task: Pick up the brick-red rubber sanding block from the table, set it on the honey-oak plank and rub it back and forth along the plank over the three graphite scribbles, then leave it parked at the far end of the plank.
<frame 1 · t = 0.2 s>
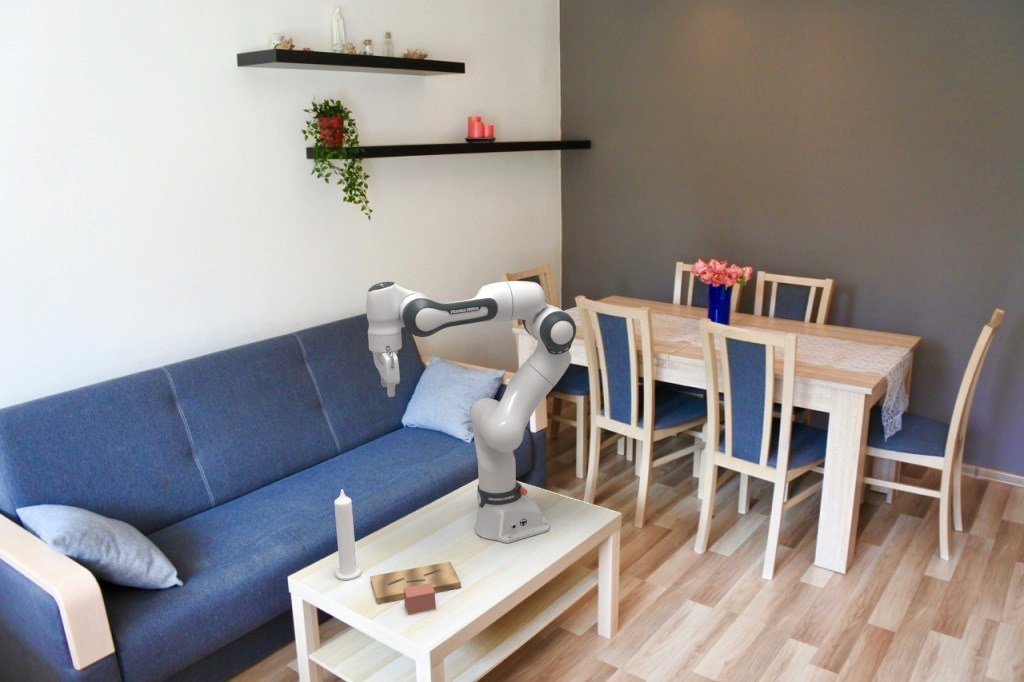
hand: (388, 390, 223), 48 cm above the table, fingers open, 8 cm apart
plank: (415, 585, 215), on the table
sanding block: (420, 607, 205), on the table
candle: (348, 574, 221), on the table
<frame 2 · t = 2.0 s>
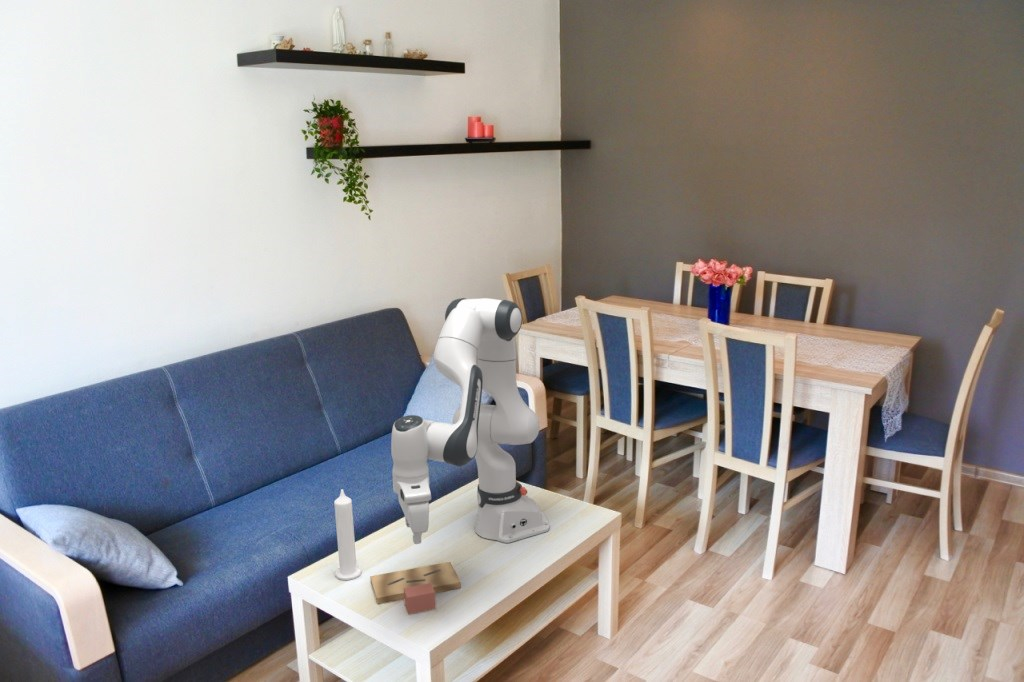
hand: (413, 534, 201), 20 cm above the table, fingers open, 8 cm apart
nothing on the table moved.
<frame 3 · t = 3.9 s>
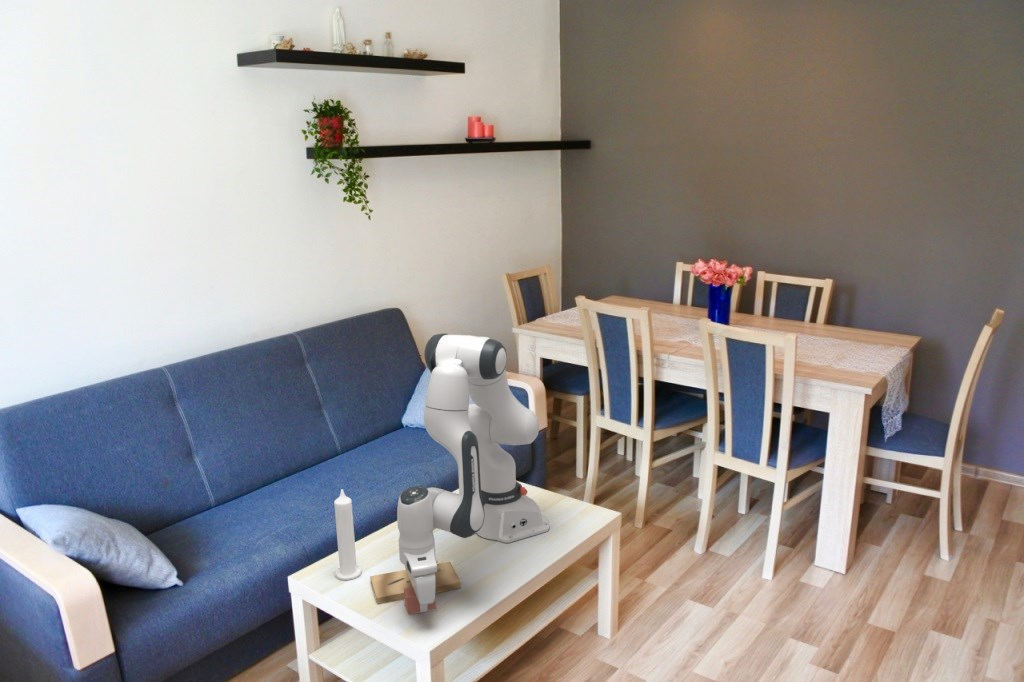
hand: (419, 601, 205), 2 cm above the table, fingers open, 7 cm apart
nothing on the table moved.
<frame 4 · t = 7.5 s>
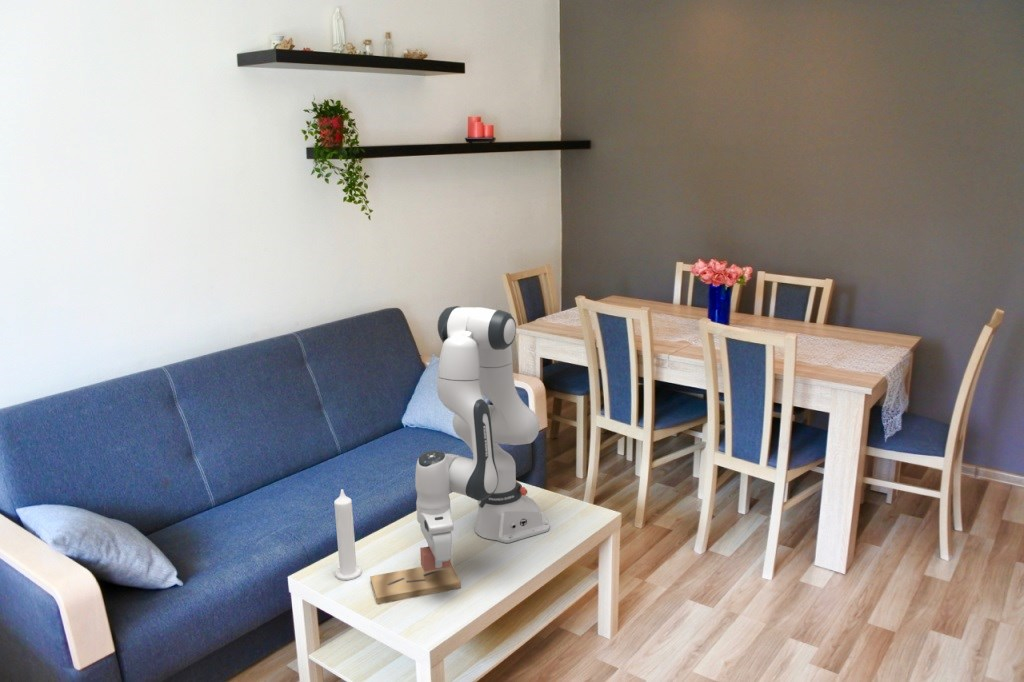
hand: (435, 561, 215), 6 cm above the table, fingers closed on sanding block, 4 cm apart
sanding block: (435, 566, 215), point 5 cm above the table, touching gripper
everything else where it was.
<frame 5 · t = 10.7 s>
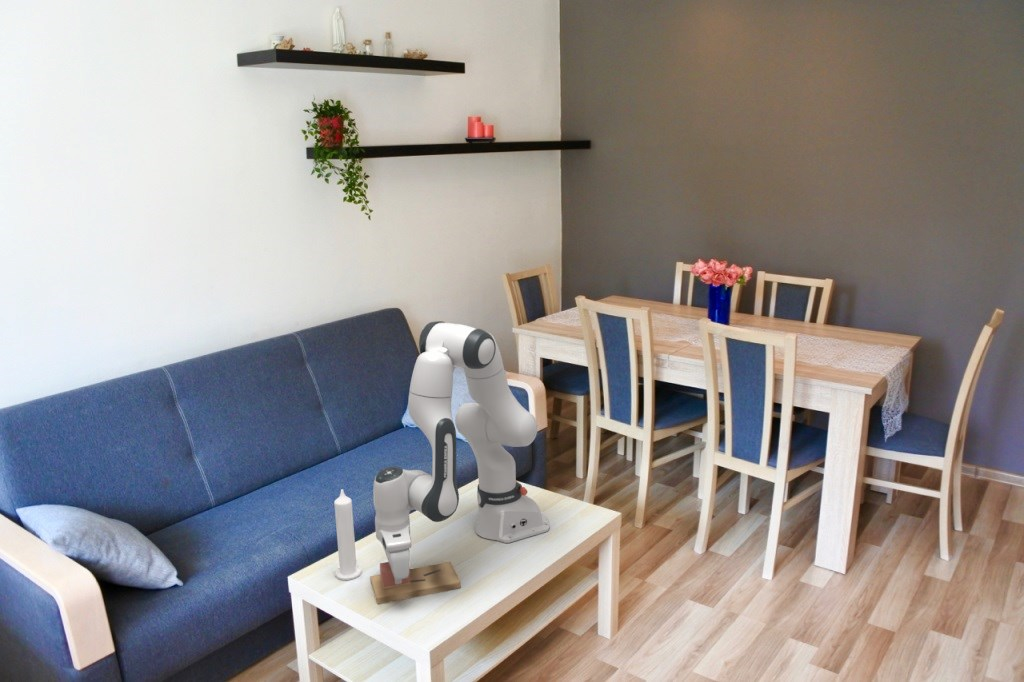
hand: (395, 576, 213), 3 cm above the table, fingers closed on sanding block, 4 cm apart
sanding block: (395, 582, 213), point 2 cm above the table, touching gripper
everything else where it was.
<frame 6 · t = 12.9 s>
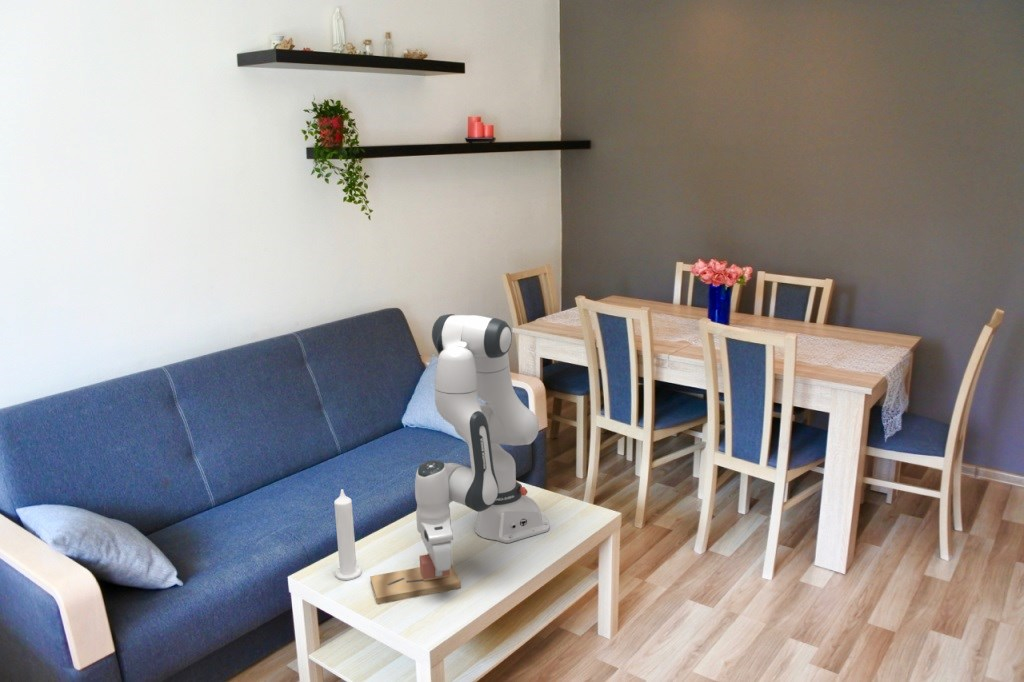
hand: (435, 569, 216), 4 cm above the table, fingers closed on sanding block, 4 cm apart
sanding block: (434, 574, 216), point 2 cm above the table, touching gripper
everything else where it was.
when the fingers open (3 cm above the table, at t = 15.4 s): sanding block stays where it is, resting on plank.
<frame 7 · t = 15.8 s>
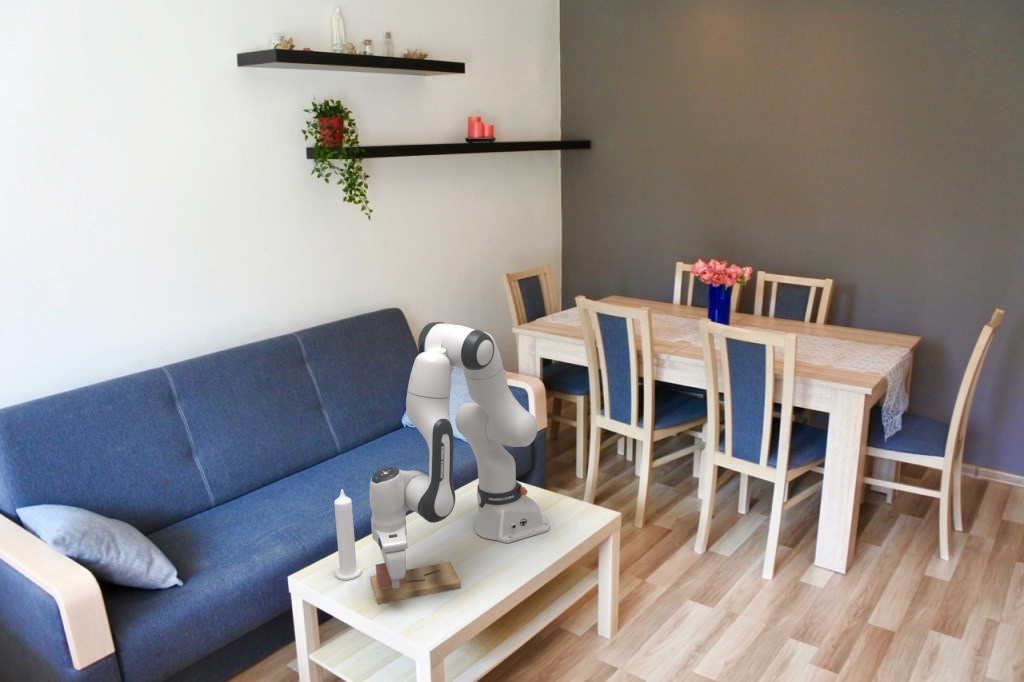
hand: (392, 577, 212), 3 cm above the table, fingers open, 8 cm apart
sanding block: (391, 583, 213), point 2 cm above the table, touching plank
everything else where it was.
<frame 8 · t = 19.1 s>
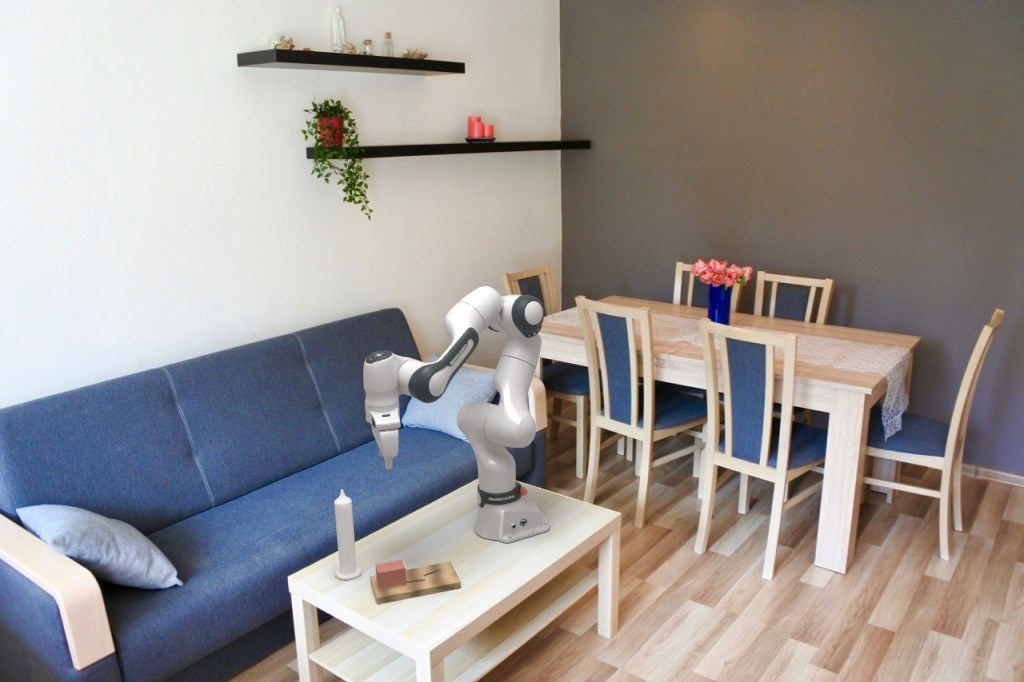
hand: (385, 461, 217), 31 cm above the table, fingers open, 8 cm apart
nothing on the table moved.
at the end: sanding block inside the target area on the plank (6.3 cm from its centre), point 1.8 cm above the plank's base; sanding block tilted 0°; the gripper is holding nothing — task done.
